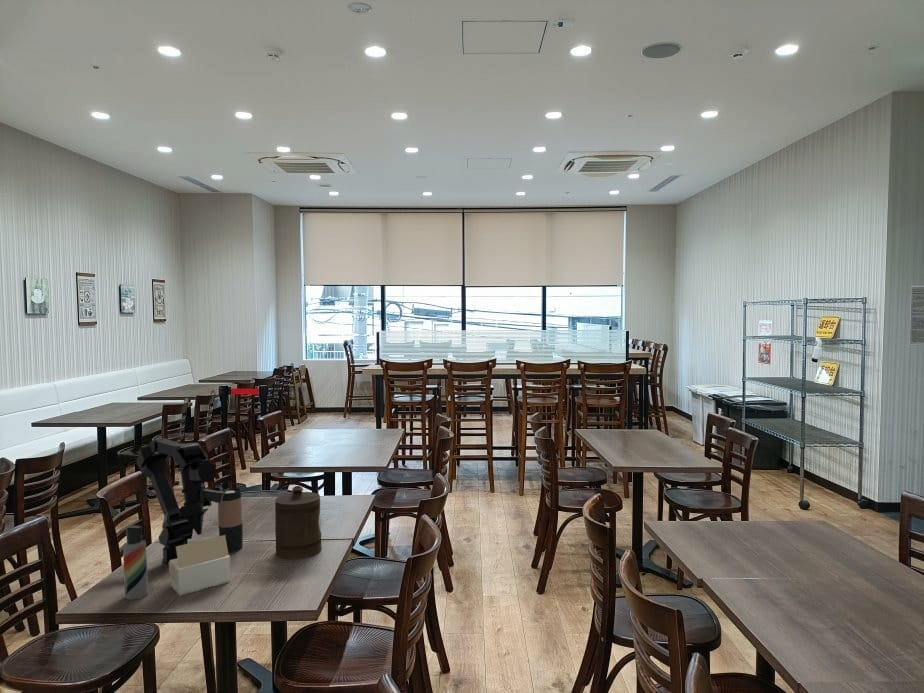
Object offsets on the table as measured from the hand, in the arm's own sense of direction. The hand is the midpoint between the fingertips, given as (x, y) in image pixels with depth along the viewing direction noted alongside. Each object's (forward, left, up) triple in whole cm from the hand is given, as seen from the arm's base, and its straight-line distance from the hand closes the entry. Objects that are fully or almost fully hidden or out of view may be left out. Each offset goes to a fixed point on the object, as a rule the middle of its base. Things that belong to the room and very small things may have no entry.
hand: (199, 534), depth 188 cm
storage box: (+5, +9, -11) cm, 16 cm away
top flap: (+6, +12, -1) cm, 13 cm away
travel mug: (-16, -9, -12) cm, 22 cm away
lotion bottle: (+20, +2, -12) cm, 23 cm away
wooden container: (-28, +12, -12) cm, 33 cm away
